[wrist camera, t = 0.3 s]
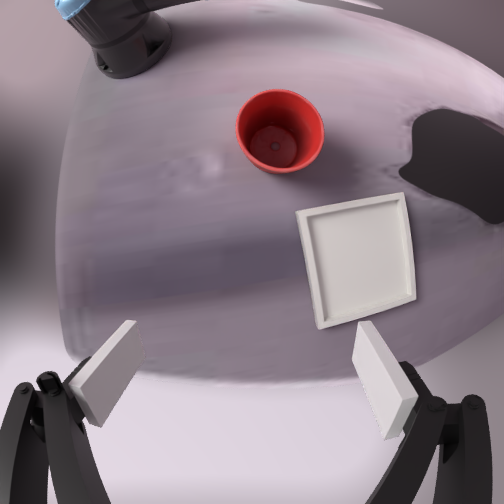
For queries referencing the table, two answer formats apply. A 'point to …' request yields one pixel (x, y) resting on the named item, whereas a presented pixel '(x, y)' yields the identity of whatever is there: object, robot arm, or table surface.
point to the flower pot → (279, 131)
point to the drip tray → (357, 257)
